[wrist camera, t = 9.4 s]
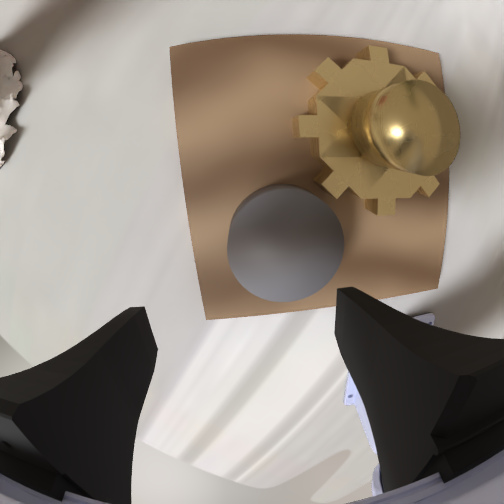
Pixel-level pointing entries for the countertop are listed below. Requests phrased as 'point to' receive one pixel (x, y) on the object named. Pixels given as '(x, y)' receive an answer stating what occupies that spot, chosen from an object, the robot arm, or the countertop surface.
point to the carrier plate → (287, 183)
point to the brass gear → (378, 130)
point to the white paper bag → (7, 97)
